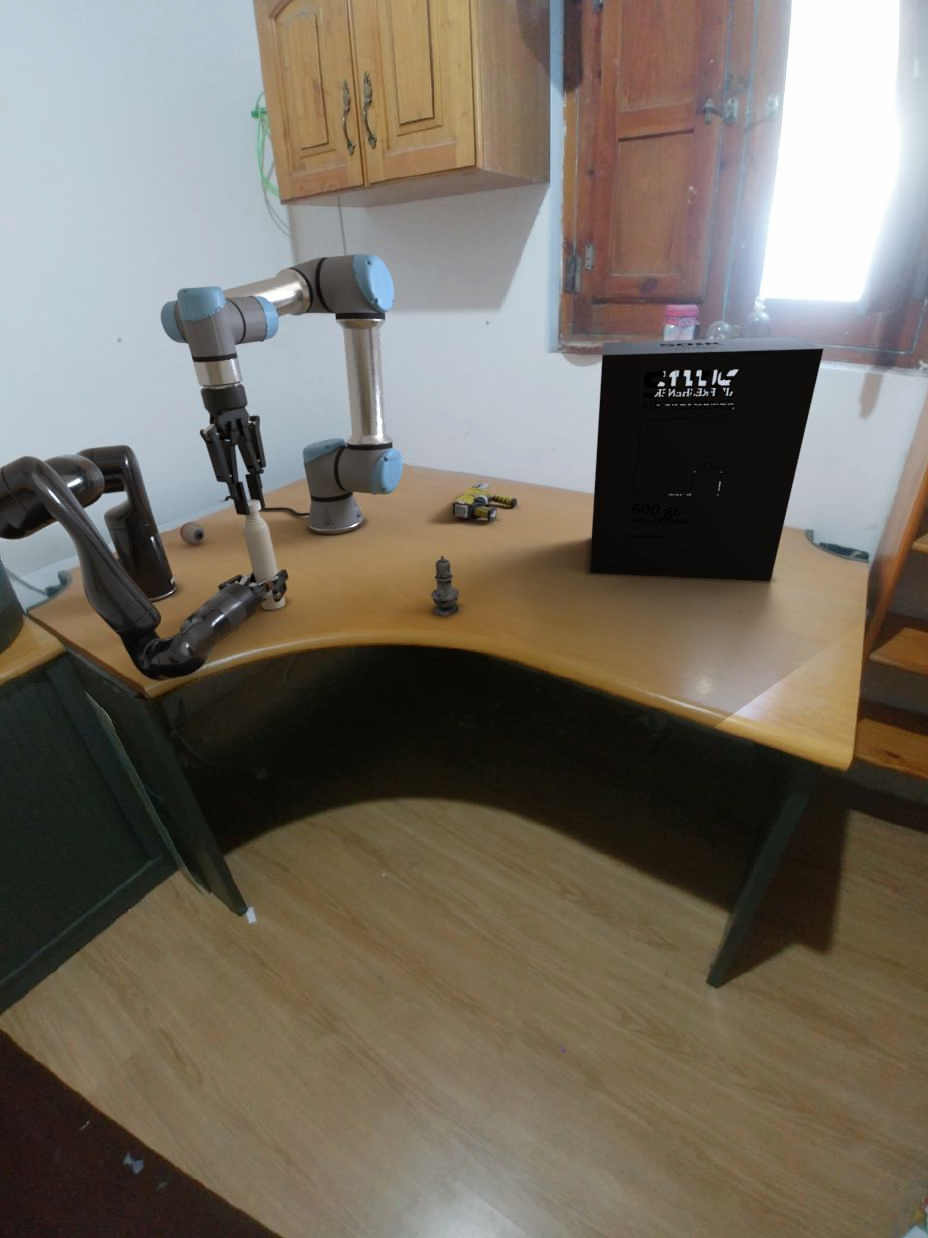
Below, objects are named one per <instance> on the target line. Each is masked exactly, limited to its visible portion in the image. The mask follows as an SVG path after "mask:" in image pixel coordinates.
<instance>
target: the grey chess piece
mask: <svg viewBox="0 0 928 1238" xmlns="http://www.w3.org/2000/svg"><path fill="white" fill-rule="evenodd" d="M453 578H454V576H453V574H452V572H451V562H450V560H448V559H446V558H445V556H444V555H441V556H440V559H438V560H436V561H435V576H434V579H435V580H436V588H435V589H434V590H432V591H431V592H430V598H431V599H432V602H433V603H434V605H435V606H434V607H433V613H434V614H436V615H438V616H452V615H455V614H456V613H458V612H459V610H460V606H459V605H458V604H457V602H458V600H459V596H460V594H461V593H460V591H459V589H457V588H456V587H453V581H452V579H453Z"/></svg>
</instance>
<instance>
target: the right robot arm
mask: <svg viewBox="0 0 928 1238" xmlns="http://www.w3.org/2000/svg"><path fill="white" fill-rule="evenodd" d="M176 298H177V299H176V300H170V301H167V302H166V303H164V305H162V308H161V310H160V322H161V325H162V329H163V331H164V332H165V334H166V335H167V336H168V337H169V339H171V340H172V341H174V342H175V343H179V344H187V345H188V348H189V351H190V356H191V359H192V360H191V361H192V364H193V367H194V371H195V376H196V379H197V380H196V381H197V383H198V385H199V386H201V387H202V388H201V389H200V391H199V392H200V395H201V399H202V404H203V407H204V409H205V411H207V413H208V415H209V421H208V422H209V425H208V426H207V427H206V428H204V429H203V428H202V429H200V430H199V435H200V436H201V439H202V440H203V441H204V443H205V446H206V449H207V452H208V457H209V460H210V464H211V467H212V469H213V473H214V476H215V480H216V482H218V483H225V484H226V486H227V488H228V492H229V493H228V494H229V495H227V496H225V498H224V501H228V500H229V499H231V500H233V504H234V505H233V506H234V508H235V512H236V515H239V516H245V515H247V516H248V515H250V511H249V507H248V502H247V500H248V499H247V494H246V491H245V485H244V482H243V481H241V480H240V479H239V470H238V462H237V461H238V459H237V450H236V449H237V448H238V451H239V454H240V456H241V458H242V462H243V463H244V466H245V469H246V471H247V473H246V474H244V477H245V481H246V482H245V483H246V486H247V490H248V493H249V499H250V500H252V499H256V500H259V501H260V505H261V510H260V511H286V512H291V513H292V514H293V515H295V516H297V517H308V521H307V522H308V523H307V524H308V528H309V529H308V530H310V531H311V532H312V533H314V534H317V535H323V536H324V535H325V536H327V535H329V536H331V535H339V534H340V535H341V534H345V533H350V532H353V531H355V530H357V529H359V528H361V527H362V526H363V525H364V523H365V519H364V514H363V512H362V508H361V505H359V504H358V501H357V500H356V498H355V495H354V493H360V494H371V495H374V496H377V495H389V494H391V493H392V492H394V491H395V490H396V489H397V487H398V486H399V483H400V481H401V479H402V475H403V469H404V461H403V456H402V455H401V452H400V451H399V450H398V449H396V448H394V446H393V438H391V437H390V436H389V434H387V426H386V412H385V394H384V379H383V364H382V361H383V360H382V347H381V345H382V344H381V331H380V330H381V327H383V325H384V324H385V323H386V313H388V312H389V311H391V310H392V308H393V306H394V301H395V289H394V283H393V279H392V275H391V272H390V270H389V269H388V268H387V265H386V264H385V262H384V261H383V259H381V258H380V257H379V256H377V255H376V254H367V253H366V254H364V253H363V254H362V253H356V254H347V255H336V256H323V257H322V256H321V257H317V258H312V259H310V260H307V261H304V262H301V263H298V264H296V265H292V266H290V267H286V268H283V269H281V270H279V271H278V272H277V273H276V275H275V276H273V277H269V278H266V279H262V280H258V281H254V282H249V283H246V284H243V285H238V286H235V287H234V286H233V287H231V288H228V289H222V288H221V287H220V286H219V285H218V286H217V285H216V286H214V285H213V286H198V287H197V286H196V287H184V288H183V287H181V288H180V289H179V290H178V291H177V292H176ZM304 314H334V315H335V316H334V317H335V322H336V324H338V325H339V326H340V327H341V329H342V331H343V332H342V333H343V344H344V357H345V369H346V379H347V380H346V381H347V391H348V393H347V394H348V404H349V415H350V417H349V418H350V428H351V430H350V431H351V434H350V436H349V437H348V438H347V439H345V438H341V437H340V438H339V437H337V438H330V439H329V438H328V439H323V440H320V441H317V442H313V443H309V444H308V445H306V446H305V447H304V448H303V450H302V457H303V458H302V460H303V467H304V472H305V477H306V482H307V486H308V492H309V498H310V507H309V512H297V511H295V510H294V509H293V508H290V507H284V506H281V507H280V506H278V507H277V506H275V507H274V506H273V507H266V503H265V499H264V494H263V481H262V477H261V475H263V474H264V473H265V468H266V467H267V461H266V455H265V451H264V444H263V439H262V434H261V417H260V415H258V414H257V415H255V414H249V412H248V410H247V409H246V407H247V406H248V404H249V402H248V398H247V394H246V393H247V392H246V389H245V386H244V385H243V384H242V382H243V380H244V378H243V375H242V370H241V365H240V362H239V356H238V353H237V347H236V346H238V345H245V344H250V343H257V342H258V343H259V342H260V343H262V342H264V341H266V340H270V339H272V338H274V337H275V336H276V334H277V333H278V331H279V327H280V320H279V318H281V317H283V316H286V315H291V316H297V317H298V316H302V315H304ZM236 446H237V448H236Z"/></svg>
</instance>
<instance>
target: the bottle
mask: <svg viewBox="0 0 928 1238" xmlns="http://www.w3.org/2000/svg"><path fill="white" fill-rule="evenodd" d="M244 516H245V518H244V523H243V526H242V533H243V536H244V539H245V544H246V548H247V553H248V555H249V561H250V564H251V568H252V572H254V576H255V580H256V583H257V582H259V581H261V580H263V579H270V578H272V577H274V576H275V575H276V574H277V573H278V572H280V570H279V567H278V563H277V558H276V554H275V550H274V544H273V541H272V537H271V536H272V535H271V532H270V531H271V530H270V527H269V525H268V522H266V520H265V519H264V518H263V516H261V514H260V510H259V511H257V512H253V513H250V515H248V516H247V515H244ZM271 585H272V587H273V586H275V585H274V582H273V583H272V584H271ZM264 586H265V584H264ZM265 589H266V588H265ZM286 602H287V601H286V598H285V595H284V596H283V597H282V599H281V600H280V601H279V602H274V599H267V600H266V601H264V602H262V603H260V605H261V607H262V609H263V610H268V611H274V610H278V609H280V608H282V607H284V606H285V605H286Z"/></svg>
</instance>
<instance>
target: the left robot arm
mask: <svg viewBox="0 0 928 1238" xmlns="http://www.w3.org/2000/svg"><path fill="white" fill-rule="evenodd" d="M137 457H138V456H137V455H136V453H135V450H133V449H132V447H131V446H129V445H127V444H114V445H105V446H96V447H88V448H83V449H82V450H80V451H78V452H76V453H74V454H61V455H58V456H52V457H49V458H47V459H44V460H42V459H40V458H38V457H37V456H32V455H23V456H21V457H19V458H16V459H15V460H12V461H10V462H8V463H6V464H5V465H3V466H1V467H0V539H4V540H11V541H14V540H21V539H24V538H27V537H30V536H32V535H35V533H37V532H39V531H42V530H43V529H45V528H46V527H49V526H50V525H52V524H54V523H56V522H58V523H59V524H60V525H61V526H62V527H63V528H64V530H65V531H66V532H67V534H68V535H69V537H70V538H71V541H72V543H73V544H74V547H75V549H76V553H77V558H78V561H79V567H80V574H81V580H82V586H83V590H84V591H83V592H84V594H85V597H86V599H87V601H88V603H89V605H90V607H91V608H92V609H93V610H94V611H95V613H96V614H97V615H98V616H99V617H100V618H101V619H102V620H103V622H104V623H106V625H108V626H109V628H110V629H111V630H112V631H113V632H114V633H115V634H116V635H117V636H118V637H119V639H120V640H121V642H122V645H123V647H124V649H125V651H126V652H127V655H128V656H129V658H130V660H131V662H132V663H133V666H135V668H136V669H137V671H138V672H139V673H141V675H143V676H144V677H146V678H147V679H148V680H151V681H154V682H164V681H170V680H174V679H178V678H179V679H180V678H183V677H187V676H191V675H192V674H194V673H195V672H197V671H199V670H200V669H201V668H202V667H204V665H205V664H206V663H207V661H208V660H209V658H210V656H211V655H212V653H213V652H214V650H215V648H216V647H217V646H218V645H219V644H221V643H222V642H223V641H224V640H226V638H227V637H228V636H230V635H231V634H233V633H235V632H236V631H238V630H239V629H240V627H242V626H243V625H244V624H245V623H246V622H247V621H249V620H250V619H251V618H252V617H253V616H254V615H255V614H256V612H257V611H258V608H259V606H260V605H261V603H262V602H264V601H266V600H267V599H274V602H279V601H280V600H281V599H282V597H283V596H284V597H285V594H286V592H287V591H288V587H287V583H286V581H288V579H289V574H288V571H287V569H285V568H282V569H281V570H279V572H278V573H277V574H276V575H275V576H274V577H272V578H270V579H263V580H261V581H259V582H257V583H256V580H255V576H254V572H253V571H252V572H251V573H247V574H245V575H244V576H243V575H242V574H237V575H235V576H233V577H231V578H229V579H228V580H226V581H224V582H222V583H220V584H218V585H217V587H218V591H217V592H216V593H215V594H214V595H213V596H211V597H210V598H209V599H207V600H206V601H205V602H204V603H203V604H202V605H201V607H200V608H198V609H196V611H194V612H193V613H192V614H190V615H189V616H188V617H187V618H185V620H183V622H182V623H181V624H180V625H181V626H180V628H179V632H178V633H176V634H174V635H171V636H167V637H161V636H160V635H159V634H158V632H157V630H156V629H158V627H159V626H160V625H161V622H162V614H161V613H160V611H159V609H158V607H156V606H155V604H154V603H153V602H158V601H161V600H165V599H167V598H168V597H171V596H172V595H174V594H176V592H177V591H178V586H177V585H178V584H177V583H176V577H175V575H174V574H173V572H172V569H171V565H170V563H169V559H168V557H167V553H166V549H165V546H164V544H163V540H162V539H161V538H162V537H161V535H160V531H159V528H158V525H157V523H156V520H155V517H154V514H153V510H152V507H151V506H152V505H151V503H150V498H149V496H148V493H147V489H146V486H145V481H144V478H143V474H142V469H141V466H140V463H139V460H138V458H137ZM116 493H126V499H124V501H122V502H121V503H119V504H117V505H114V506H112V507H110V508H109V509H108V510H106V511H105V513H103V519H104V523H105V526H106V528H107V531H108V533H109V536H110V538H111V541H112V544H113V548H114V549H115V552H116V555H117V557H116V556H115V554H114V553H113V551H112V550H111V548H110V547H109V545H108V543H107V542H106V540H105V539H104V537H103V536H102V534H101V533H100V531H99V529H98V528H97V526H96V525H95V523H94V522H93V520H92V519H91V517H90V516H89V515H88V513H87V511H86V510H85V509H86V508H89V507H90V506H93V505H94V504H95V503H96V502H98V501H99V500H100V499H101V498H102V496H103V495H107V494H116ZM273 582H274V585H275V586H273V587H272V585H271V584H272V583H273ZM264 584H265V586H264ZM265 588H266V589H265Z"/></svg>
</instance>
